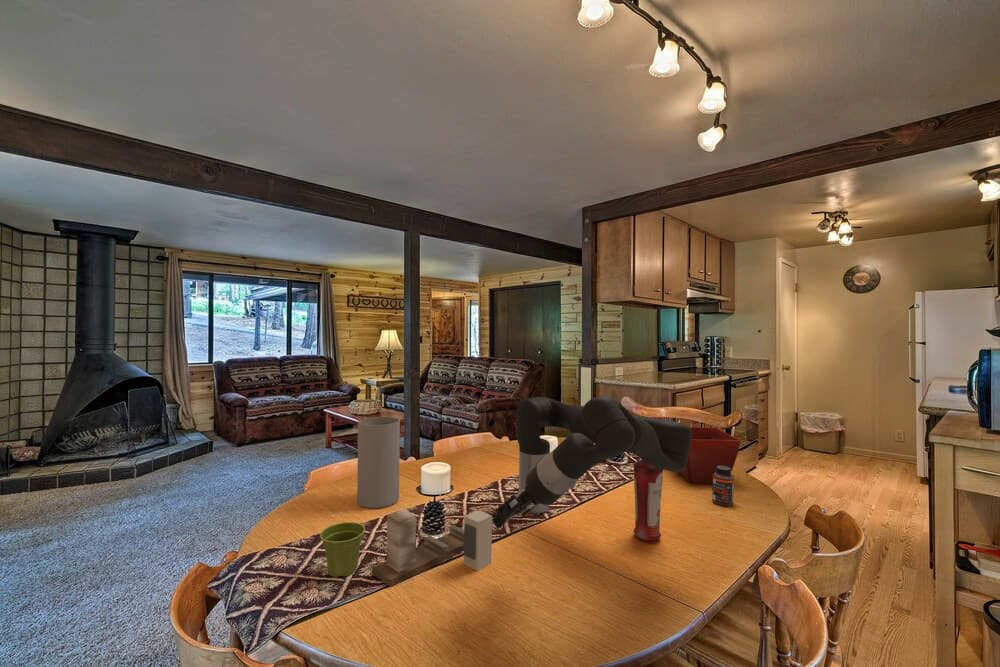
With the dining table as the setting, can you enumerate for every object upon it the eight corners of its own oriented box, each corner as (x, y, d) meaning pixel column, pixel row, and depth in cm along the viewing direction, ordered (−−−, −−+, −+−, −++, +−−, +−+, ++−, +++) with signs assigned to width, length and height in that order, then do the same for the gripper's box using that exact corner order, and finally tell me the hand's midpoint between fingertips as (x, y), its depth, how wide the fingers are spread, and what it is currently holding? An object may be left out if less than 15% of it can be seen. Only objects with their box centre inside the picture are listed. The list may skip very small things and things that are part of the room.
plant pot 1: (338, 587, 91) (339, 546, 91) (310, 573, 96) (311, 534, 96) (373, 566, 99) (374, 528, 99) (346, 554, 104) (346, 518, 104)
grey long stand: (454, 536, 114) (455, 488, 113) (473, 545, 109) (474, 495, 109) (372, 574, 96) (372, 517, 96) (390, 587, 91) (391, 527, 91)
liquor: (640, 528, 119) (642, 426, 119) (666, 538, 114) (668, 431, 114) (627, 537, 114) (629, 430, 114) (653, 547, 109) (655, 435, 109)
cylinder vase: (407, 501, 136) (407, 421, 136) (371, 513, 127) (371, 427, 127) (384, 490, 145) (385, 415, 144) (349, 501, 135) (350, 420, 135)
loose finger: (477, 556, 104) (478, 510, 104) (491, 563, 101) (492, 515, 101) (461, 564, 100) (462, 516, 100) (475, 572, 97) (476, 522, 97)
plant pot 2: (740, 488, 151) (742, 439, 151) (685, 487, 151) (686, 439, 151) (714, 470, 170) (715, 427, 170) (665, 469, 170) (665, 426, 170)
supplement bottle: (712, 505, 136) (713, 468, 136) (711, 498, 142) (712, 463, 142) (734, 508, 134) (735, 471, 134) (732, 501, 140) (733, 466, 139)
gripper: (542, 503, 79) (495, 546, 87) (584, 483, 89) (539, 522, 97) (520, 468, 82) (476, 511, 90) (562, 452, 93) (520, 492, 101)
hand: (509, 517), depth 94 cm, fingers open, 8 cm apart
